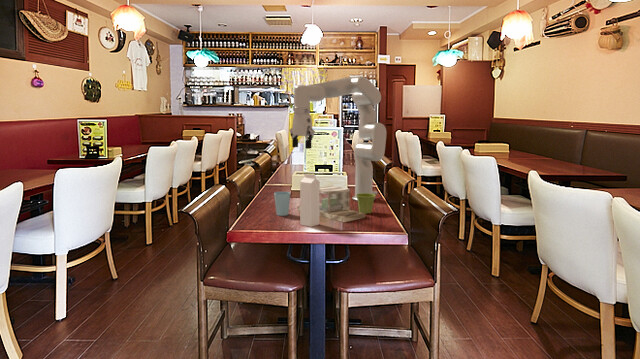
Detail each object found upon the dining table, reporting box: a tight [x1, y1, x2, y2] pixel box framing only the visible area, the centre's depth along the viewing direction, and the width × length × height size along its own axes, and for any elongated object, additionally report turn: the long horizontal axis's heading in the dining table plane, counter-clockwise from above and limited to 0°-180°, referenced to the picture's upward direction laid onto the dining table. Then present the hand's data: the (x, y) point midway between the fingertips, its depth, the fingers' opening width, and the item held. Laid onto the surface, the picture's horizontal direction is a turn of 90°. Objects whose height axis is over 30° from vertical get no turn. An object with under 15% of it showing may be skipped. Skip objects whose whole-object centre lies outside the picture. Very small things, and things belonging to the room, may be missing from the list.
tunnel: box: [297, 185, 366, 223], centre depth 221 cm, size 32×14×12 cm, turn 43°
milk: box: [299, 173, 321, 228], centre depth 200 cm, size 6×6×22 cm
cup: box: [273, 191, 292, 217], centre depth 219 cm, size 8×8×10 cm
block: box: [321, 197, 336, 208], centre depth 222 cm, size 5×5×5 cm
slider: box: [319, 203, 343, 212], centre depth 227 cm, size 22×9×8 cm, turn 43°
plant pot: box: [356, 193, 377, 215], centre depth 225 cm, size 9×9×9 cm
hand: (301, 147), depth 224 cm, fingers open, 9 cm apart
